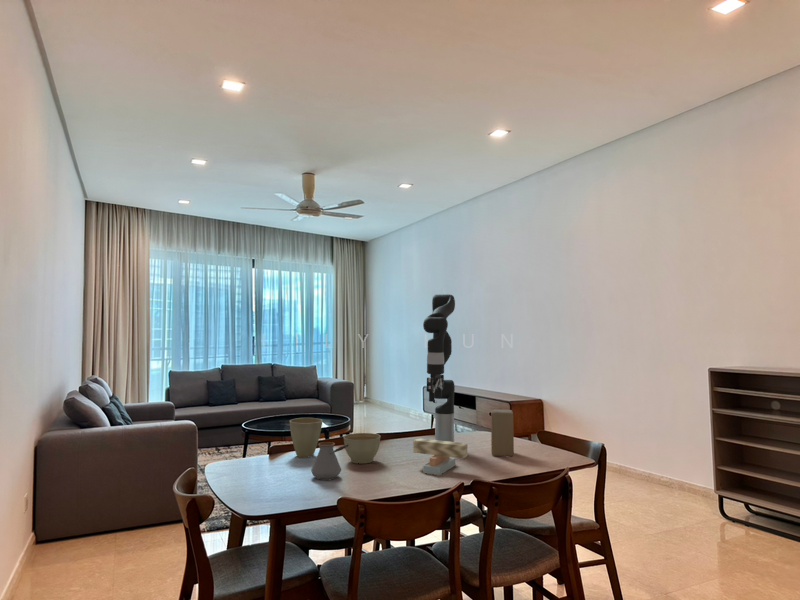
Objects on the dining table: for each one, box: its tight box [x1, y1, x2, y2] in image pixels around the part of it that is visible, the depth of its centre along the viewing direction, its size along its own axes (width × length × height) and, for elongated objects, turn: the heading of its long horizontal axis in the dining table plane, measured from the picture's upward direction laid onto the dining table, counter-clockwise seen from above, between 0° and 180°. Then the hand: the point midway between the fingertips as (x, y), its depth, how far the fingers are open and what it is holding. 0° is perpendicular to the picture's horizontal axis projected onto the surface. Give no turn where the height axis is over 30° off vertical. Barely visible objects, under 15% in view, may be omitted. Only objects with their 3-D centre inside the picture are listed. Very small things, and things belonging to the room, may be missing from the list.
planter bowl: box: [343, 432, 381, 465], centre depth 221 cm, size 16×16×11 cm
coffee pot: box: [311, 441, 351, 481], centre depth 192 cm, size 21×12×15 cm, turn 38°
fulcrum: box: [422, 455, 456, 476], centre depth 209 cm, size 18×7×6 cm, turn 154°
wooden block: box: [490, 408, 515, 458], centre depth 236 cm, size 10×10×20 cm
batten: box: [412, 437, 468, 459], centre depth 209 cm, size 22×5×5 cm, turn 63°
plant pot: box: [289, 417, 324, 458], centre depth 231 cm, size 15×15×16 cm
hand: (435, 400), depth 221 cm, fingers open, 8 cm apart
